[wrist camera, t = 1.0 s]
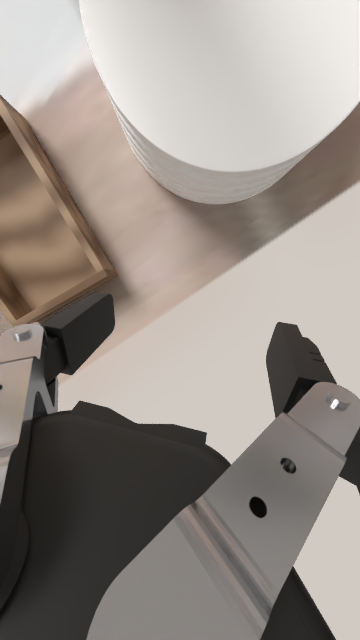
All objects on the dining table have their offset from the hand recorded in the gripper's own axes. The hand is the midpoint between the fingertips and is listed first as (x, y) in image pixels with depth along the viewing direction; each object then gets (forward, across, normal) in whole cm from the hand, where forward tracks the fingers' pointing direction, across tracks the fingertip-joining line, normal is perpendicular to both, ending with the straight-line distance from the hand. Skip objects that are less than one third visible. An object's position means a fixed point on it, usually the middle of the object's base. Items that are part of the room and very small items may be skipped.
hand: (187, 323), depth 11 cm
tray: (+21, +28, +1) cm, 35 cm away
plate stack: (+32, +3, -18) cm, 37 cm away
